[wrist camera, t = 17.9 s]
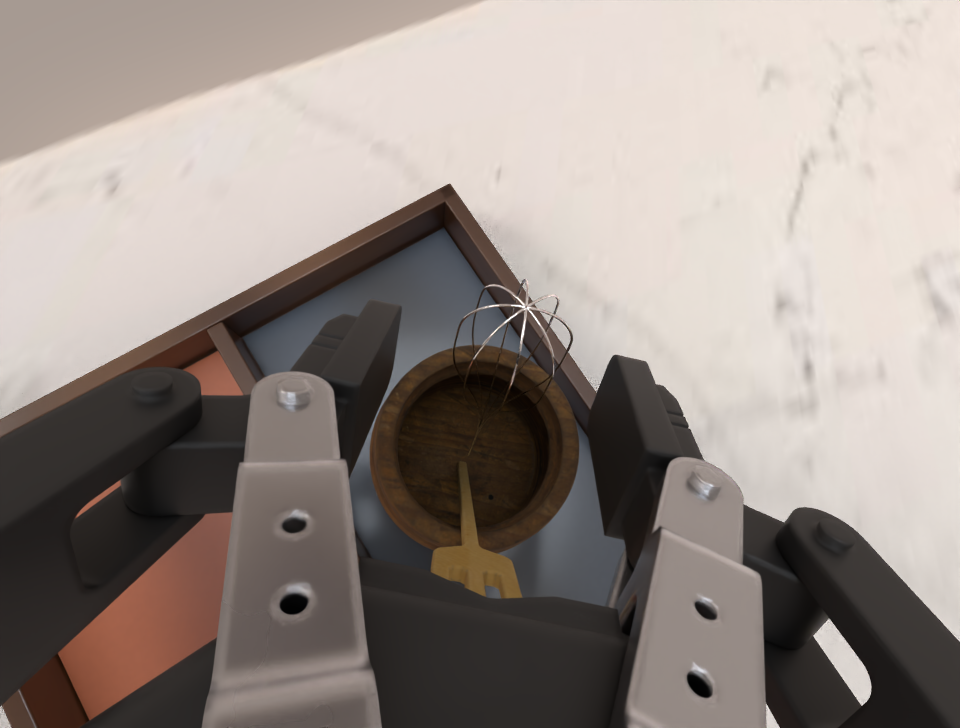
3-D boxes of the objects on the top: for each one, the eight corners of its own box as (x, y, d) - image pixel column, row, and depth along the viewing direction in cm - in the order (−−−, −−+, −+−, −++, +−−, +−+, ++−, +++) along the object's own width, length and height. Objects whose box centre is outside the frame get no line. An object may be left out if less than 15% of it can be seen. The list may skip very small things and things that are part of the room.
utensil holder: (548, 393, 20) (707, 262, 9) (529, 564, 19) (691, 678, 7) (397, 369, 20) (354, 199, 8) (365, 541, 19) (259, 621, 7)
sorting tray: (208, 987, 16) (167, 1080, 13) (-32, 475, 19) (-105, 473, 16) (702, 586, 20) (741, 599, 18) (447, 217, 23) (450, 182, 20)
